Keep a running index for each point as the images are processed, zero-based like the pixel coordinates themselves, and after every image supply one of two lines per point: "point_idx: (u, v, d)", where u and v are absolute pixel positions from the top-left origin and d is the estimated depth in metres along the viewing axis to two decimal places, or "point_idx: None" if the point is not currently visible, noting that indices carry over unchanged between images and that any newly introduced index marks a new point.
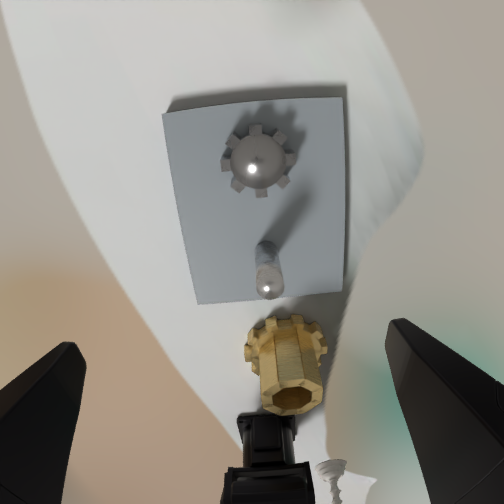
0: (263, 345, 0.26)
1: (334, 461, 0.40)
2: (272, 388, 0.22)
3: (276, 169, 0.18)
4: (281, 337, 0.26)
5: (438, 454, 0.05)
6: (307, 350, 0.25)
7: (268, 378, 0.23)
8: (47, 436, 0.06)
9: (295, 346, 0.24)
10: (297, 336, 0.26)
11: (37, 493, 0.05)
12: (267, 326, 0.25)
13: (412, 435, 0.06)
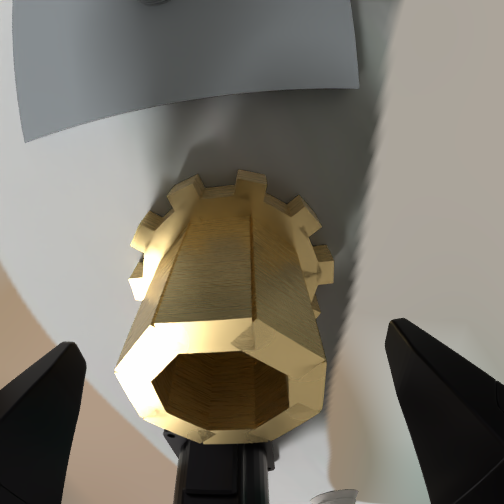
0: (167, 250, 0.10)
1: (340, 492, 0.24)
2: (141, 352, 0.06)
3: None
4: (207, 222, 0.10)
5: (438, 454, 0.05)
6: (277, 253, 0.09)
7: (141, 321, 0.07)
8: (47, 436, 0.06)
9: (240, 236, 0.09)
10: (251, 220, 0.10)
11: (38, 493, 0.05)
12: (171, 192, 0.10)
13: (412, 435, 0.06)
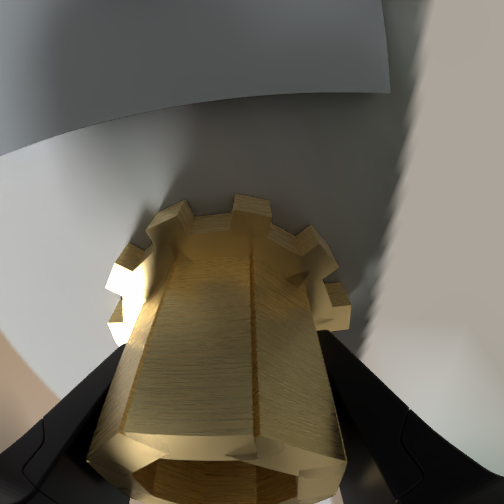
0: (149, 294, 0.08)
1: None
2: (113, 452, 0.04)
3: None
4: (197, 263, 0.08)
5: (347, 478, 0.05)
6: (285, 308, 0.07)
7: (112, 405, 0.05)
8: None
9: (237, 288, 0.07)
10: (251, 261, 0.08)
11: None
12: (151, 224, 0.08)
13: None
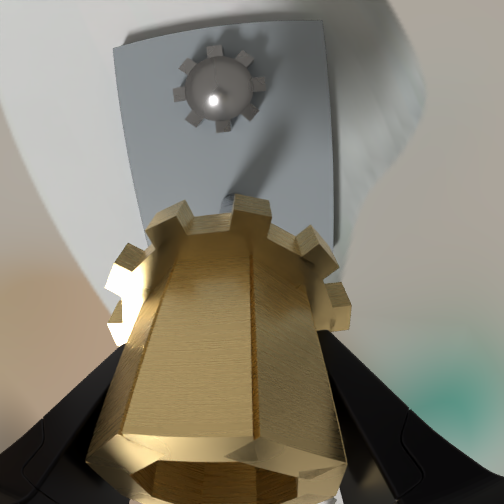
0: (149, 294, 0.08)
1: None
2: (112, 453, 0.04)
3: (241, 96, 0.14)
4: (197, 264, 0.08)
5: (347, 478, 0.05)
6: (285, 308, 0.07)
7: (111, 406, 0.05)
8: None
9: (237, 289, 0.07)
10: (251, 261, 0.08)
11: None
12: (151, 224, 0.08)
13: None
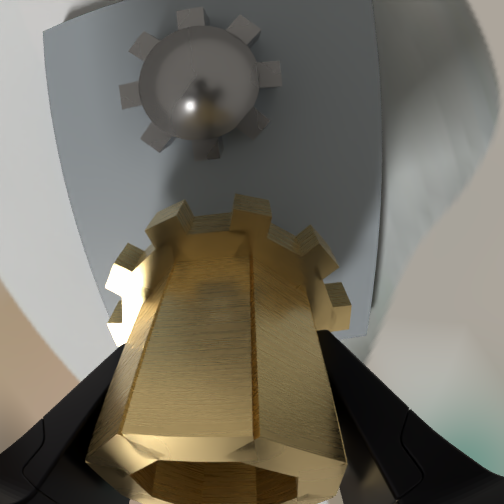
0: (149, 294, 0.08)
1: None
2: (112, 453, 0.04)
3: (237, 95, 0.08)
4: (196, 263, 0.08)
5: (347, 478, 0.05)
6: (285, 308, 0.07)
7: (111, 406, 0.05)
8: None
9: (237, 289, 0.07)
10: (251, 261, 0.08)
11: None
12: (151, 224, 0.08)
13: None
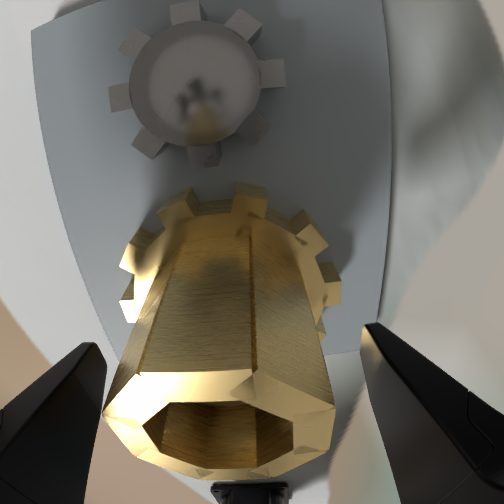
0: (159, 271, 0.09)
1: None
2: (128, 399, 0.05)
3: (236, 97, 0.07)
4: (202, 242, 0.09)
5: (408, 464, 0.05)
6: (280, 278, 0.08)
7: (128, 360, 0.06)
8: (69, 441, 0.06)
9: (238, 260, 0.08)
10: (250, 239, 0.09)
11: (59, 501, 0.05)
12: (162, 208, 0.09)
13: (385, 442, 0.06)
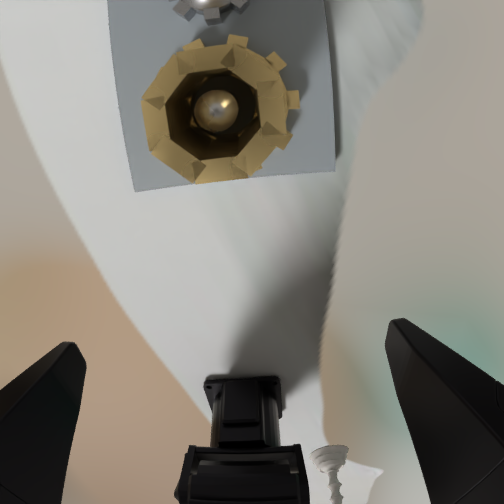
0: None
1: (333, 447, 0.33)
2: (163, 76, 0.09)
3: None
4: None
5: (438, 454, 0.05)
6: None
7: None
8: (47, 436, 0.06)
9: None
10: None
11: (37, 493, 0.05)
12: (185, 45, 0.13)
13: (412, 435, 0.06)
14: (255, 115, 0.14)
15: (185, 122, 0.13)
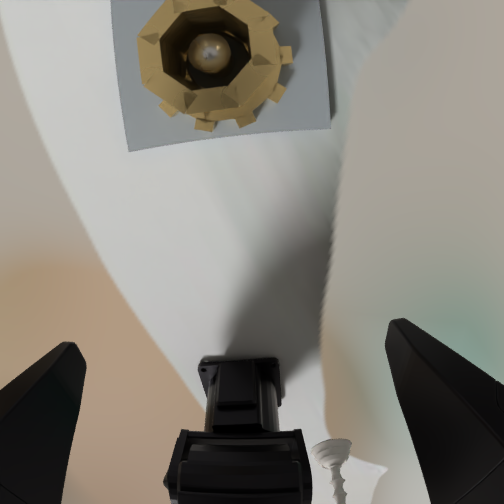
0: None
1: (336, 441, 0.32)
2: (159, 15, 0.08)
3: None
4: None
5: (438, 454, 0.05)
6: None
7: None
8: (47, 436, 0.06)
9: None
10: None
11: (38, 493, 0.05)
12: None
13: (412, 435, 0.06)
14: None
15: (179, 71, 0.12)
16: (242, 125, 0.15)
